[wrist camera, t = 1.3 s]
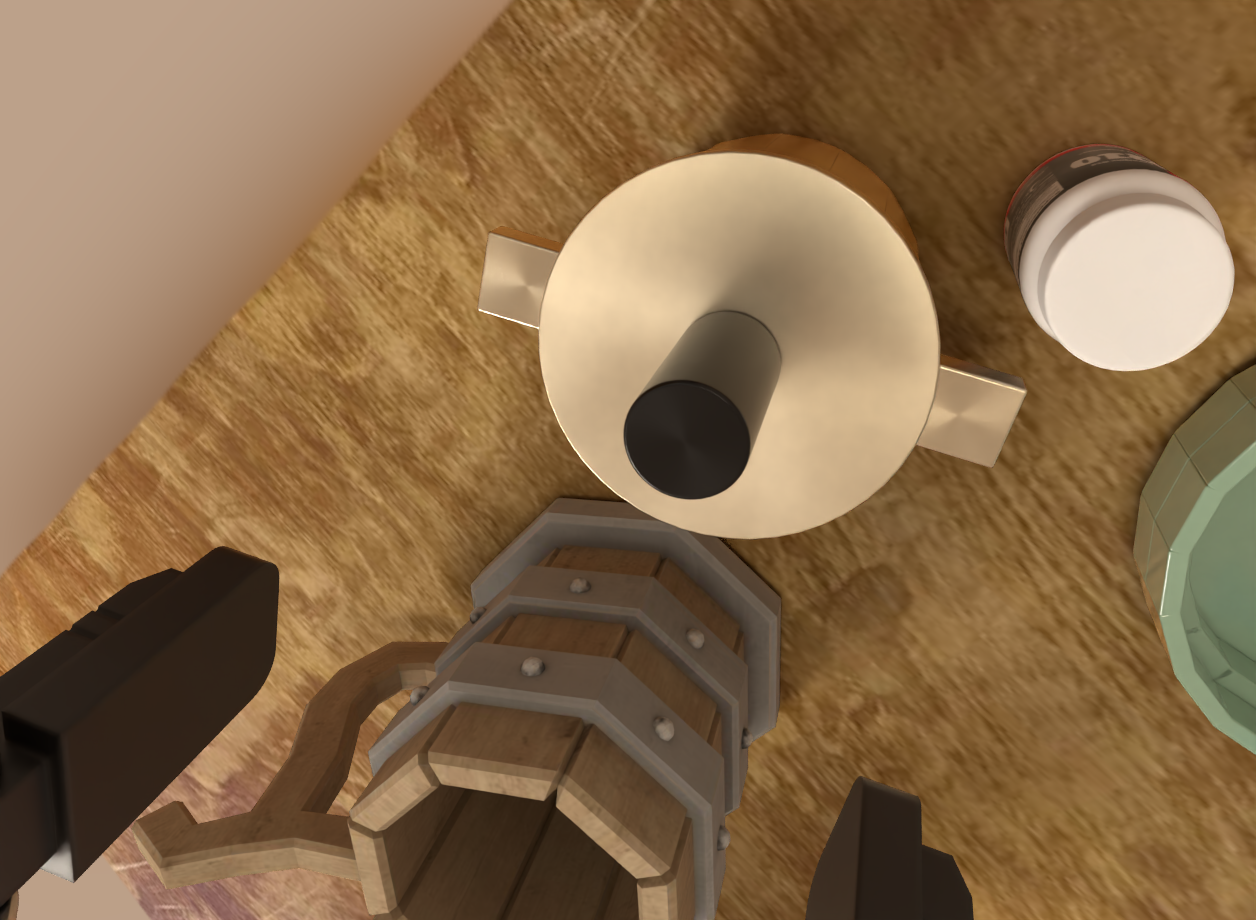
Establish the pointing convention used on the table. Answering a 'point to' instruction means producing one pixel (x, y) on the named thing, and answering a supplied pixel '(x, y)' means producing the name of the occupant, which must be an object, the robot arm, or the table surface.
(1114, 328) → the pill bottle
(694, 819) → the tankard
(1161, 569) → the bowl
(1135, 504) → the table surface
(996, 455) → the pot
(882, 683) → the table surface
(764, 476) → the pot lid
